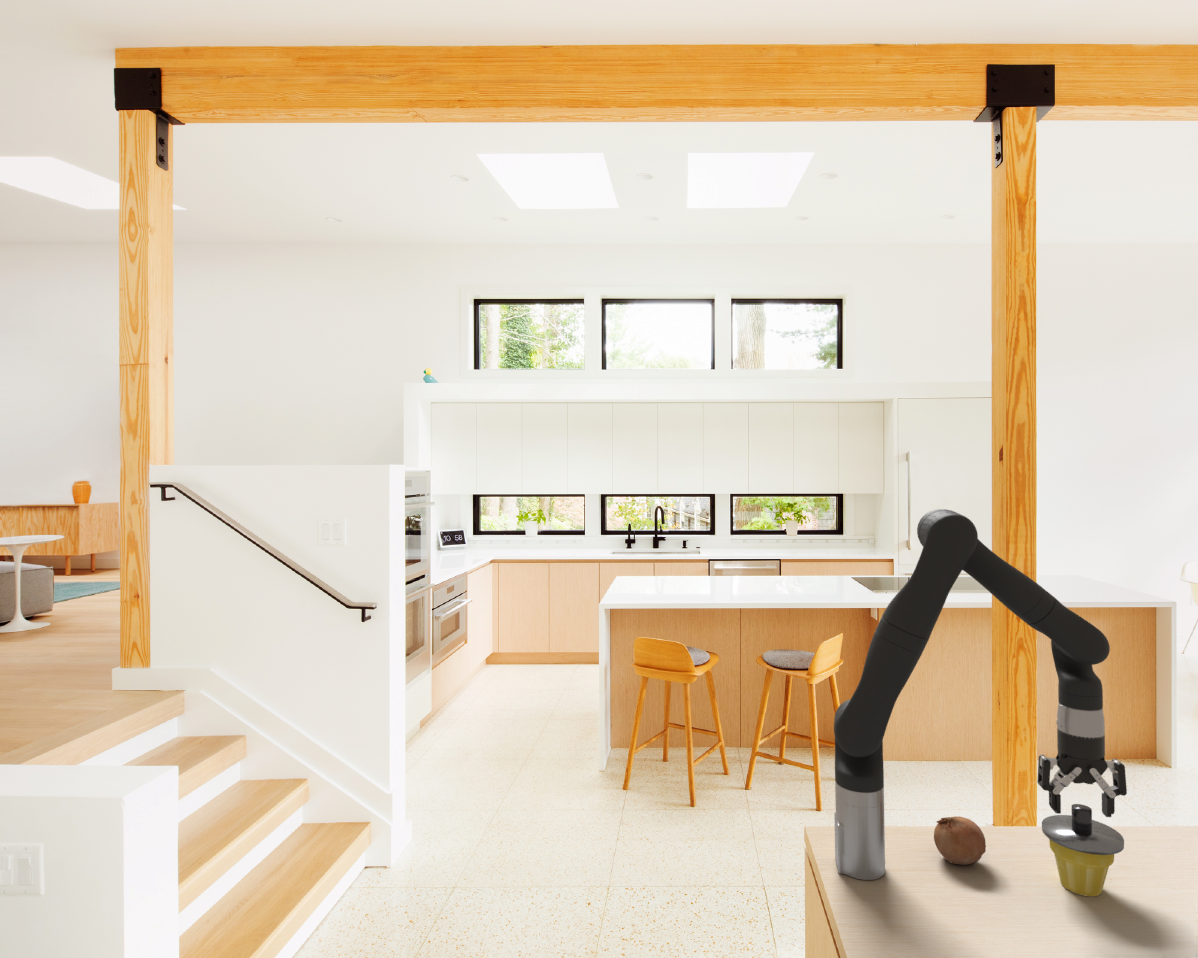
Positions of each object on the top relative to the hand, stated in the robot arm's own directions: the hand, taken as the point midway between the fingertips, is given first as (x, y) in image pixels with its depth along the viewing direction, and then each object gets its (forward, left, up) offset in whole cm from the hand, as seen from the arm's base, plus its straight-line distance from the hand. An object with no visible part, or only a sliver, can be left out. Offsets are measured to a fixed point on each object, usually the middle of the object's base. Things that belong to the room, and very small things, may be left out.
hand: (1081, 813), depth 138 cm
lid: (0, 0, -4) cm, 4 cm away
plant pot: (0, 0, -14) cm, 14 cm away
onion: (-20, +6, -14) cm, 25 cm away
